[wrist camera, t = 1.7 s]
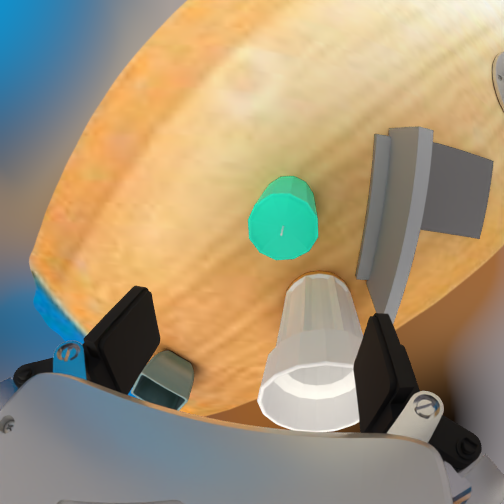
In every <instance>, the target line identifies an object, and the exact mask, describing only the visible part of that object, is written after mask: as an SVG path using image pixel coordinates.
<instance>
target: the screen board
mask: <svg viewBox="0 0 504 504" xmlns="http://www.w3.org/2000/svg"><path fill="white" fill-rule="evenodd" d="M432 144H433V130H430V129H426V128H422V127H403V128H389V136H385V135H379V134H375V136H374V150H373V162H372V172H371V182H370V190H369V198H368V205H367V213H366V219H365V226H364V232H363V238H362V243H361V249H360V254H359V260H358V265H357V270H356V274H355V276H356V279H360V280H367V281H366V284H367V287H368V290H369V293H370V295H371V298H372V301H373V304H374V307H375V310H376V313H385V314H389V316H390V318H391V321H392V324H393V323H394V320H395V317H396V314H397V311H398V308H399V305H400V302H401V299H402V296H403V293H404V290H405V287H406V283H407V280H408V276H409V273H410V269H411V266H412V262H413V258H414V254H415V250H416V246H417V242H418V237H419V233H420V228H421V223H422V218H423V213H424V207H425V202H426V195H427V189H428V182H429V174H430V166H431V156H432Z"/></svg>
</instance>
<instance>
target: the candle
mask: <svg viewBox="0 0 504 504" xmlns="http://www.w3.org/2000/svg"><path fill="white" fill-rule="evenodd" d="M248 229H249V239H250V240H251V242H252V243H253V244H254V246H255V247H256V248H257V249H258V251H259V252H260V253H262V254H264V255H266V256H268V257H270V258H273V259H275V260H287V259H295V258H297V257H299V256H301V255H303V254H305V253H307V252H309V251H310V249H311V248H312V246H313V244H314V243H315V241H316V240H317V238H318V217H317V211H316V206H315V200H314V195H313V192H312V191H311V189H310V187H309V186H308V184H307V183H306V182H305V181H303V180H301V179H299V178H297V177H295V176H283V177H279V178H278V179H276V180H275V181H273V182H272V183H270V184H269V185H268V187H267V188H266V190H265V191H264V192H263V194H262V195H261V197H260V198H259V200H258V201H257V202H256V204H255V206H254V208H253V210H252V212H251V214H250V216H249V219H248Z"/></svg>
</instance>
